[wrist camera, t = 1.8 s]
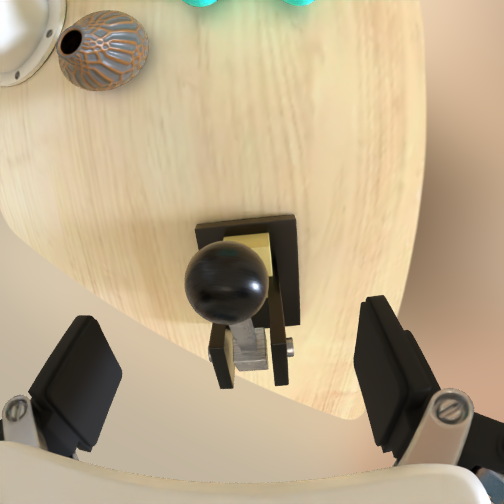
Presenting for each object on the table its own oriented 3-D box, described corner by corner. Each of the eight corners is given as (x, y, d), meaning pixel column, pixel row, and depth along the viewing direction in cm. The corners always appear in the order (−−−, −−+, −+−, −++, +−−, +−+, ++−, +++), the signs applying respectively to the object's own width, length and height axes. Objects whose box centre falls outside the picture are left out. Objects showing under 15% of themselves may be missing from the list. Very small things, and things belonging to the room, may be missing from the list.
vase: (119, 106, 23) (66, 111, 15) (77, 64, 21) (18, 58, 13) (173, 50, 21) (137, 27, 13) (126, 9, 19) (79, -20, 11)
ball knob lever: (178, 228, 13) (169, 305, 11) (262, 218, 13) (269, 298, 10) (229, 335, 23) (230, 379, 21) (275, 331, 23) (278, 376, 21)
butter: (223, 236, 27) (220, 250, 25) (268, 232, 27) (269, 246, 25) (231, 284, 30) (229, 301, 27) (273, 280, 29) (274, 297, 27)
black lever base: (196, 224, 28) (162, 302, 17) (294, 214, 28) (319, 289, 17) (218, 324, 34) (204, 416, 23) (299, 317, 33) (314, 409, 22)
